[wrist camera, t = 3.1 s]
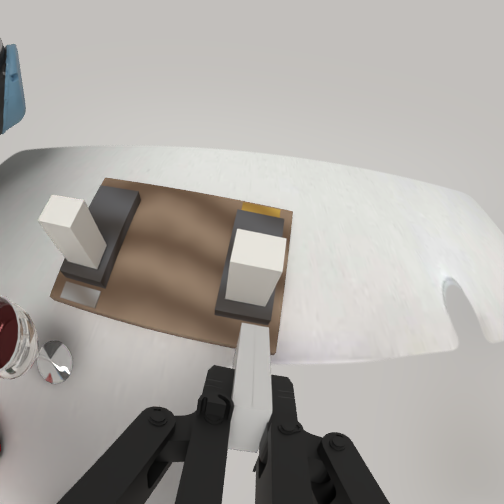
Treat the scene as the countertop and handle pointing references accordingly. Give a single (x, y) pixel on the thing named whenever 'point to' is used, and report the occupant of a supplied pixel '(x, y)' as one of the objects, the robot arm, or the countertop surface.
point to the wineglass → (28, 347)
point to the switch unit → (172, 262)
